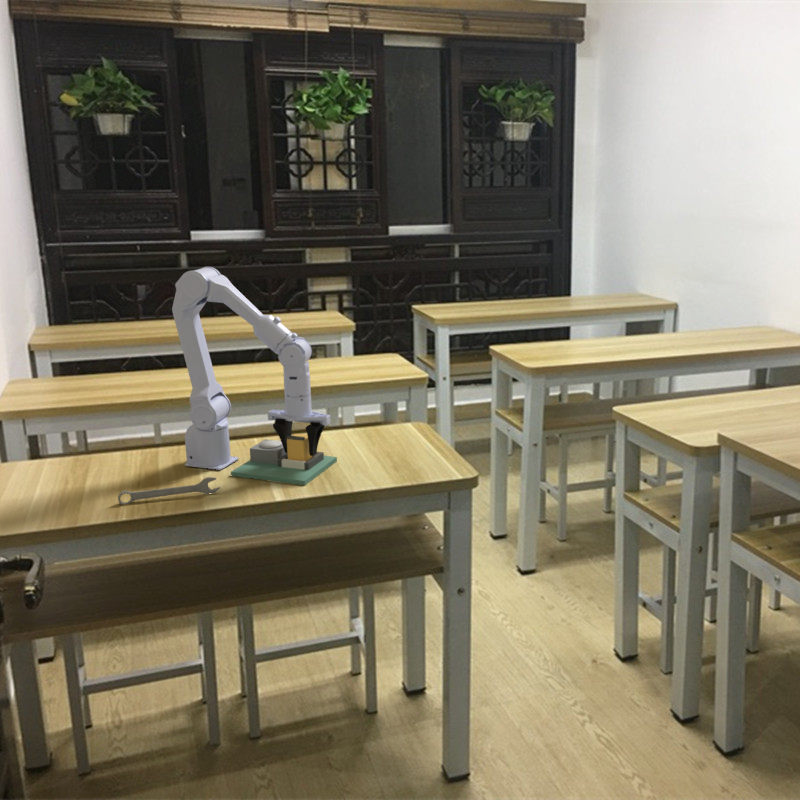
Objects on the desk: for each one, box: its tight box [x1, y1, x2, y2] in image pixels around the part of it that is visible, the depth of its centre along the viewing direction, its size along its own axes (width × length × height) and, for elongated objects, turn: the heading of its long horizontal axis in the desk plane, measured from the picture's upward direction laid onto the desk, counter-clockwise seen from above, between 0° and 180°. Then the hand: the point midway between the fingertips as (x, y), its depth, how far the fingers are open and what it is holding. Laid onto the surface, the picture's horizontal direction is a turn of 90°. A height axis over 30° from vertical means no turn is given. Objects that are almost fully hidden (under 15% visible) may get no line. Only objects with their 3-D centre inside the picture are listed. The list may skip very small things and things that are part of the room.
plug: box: [287, 433, 312, 461], centre depth 176 cm, size 4×4×7 cm
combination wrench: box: [117, 476, 221, 506], centre depth 161 cm, size 4×1×20 cm
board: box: [230, 439, 338, 486], centre depth 177 cm, size 18×16×4 cm
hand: (300, 452), depth 177 cm, fingers open, 6 cm apart
